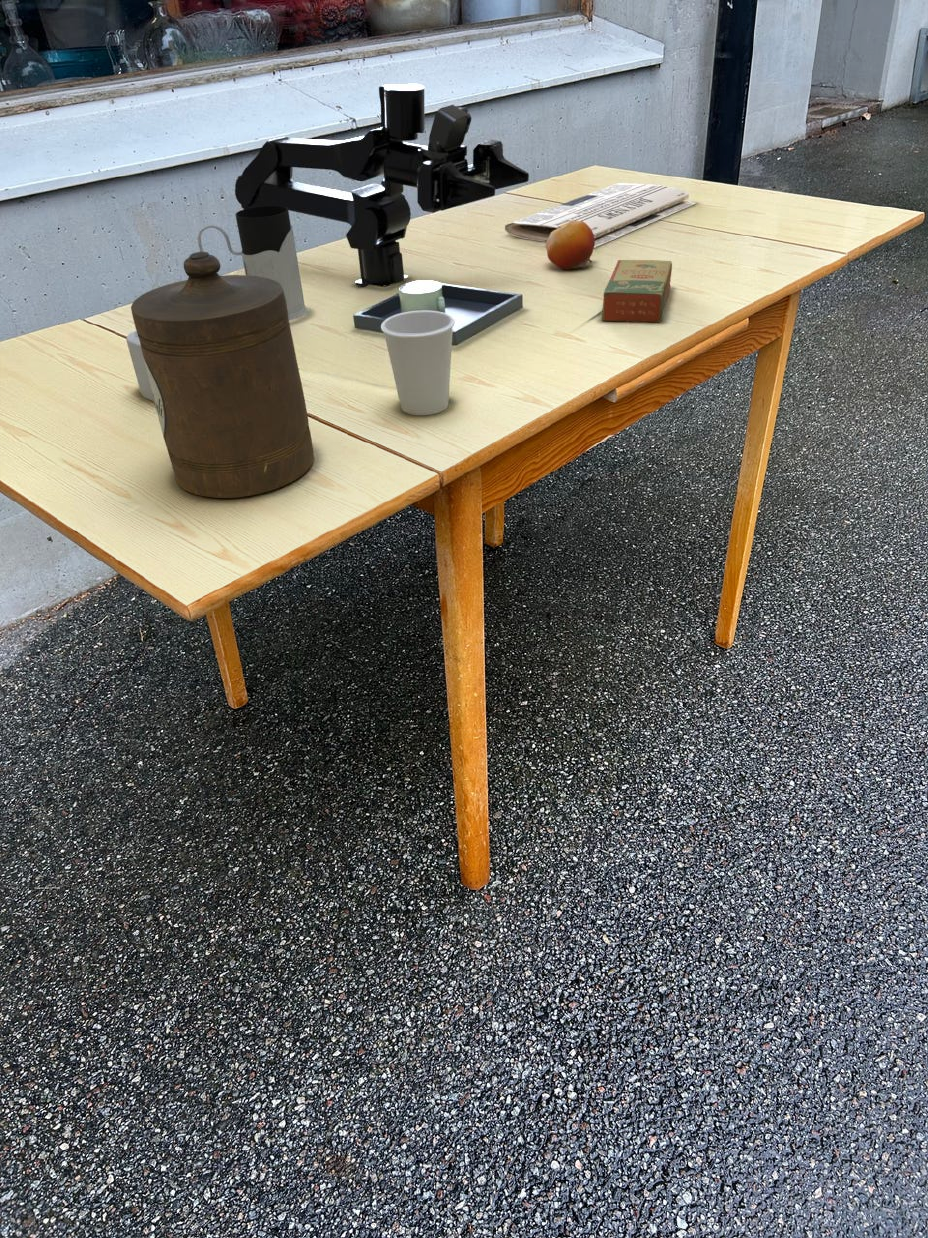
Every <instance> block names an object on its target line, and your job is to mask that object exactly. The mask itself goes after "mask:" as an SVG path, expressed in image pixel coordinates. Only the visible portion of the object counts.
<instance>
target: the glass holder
mask: <svg viewBox="0 0 928 1238" xmlns="http://www.w3.org/2000/svg"><path fill="white" fill-rule="evenodd" d="M234 216H235V221H236V226H237V231H238V235H239V242H240V247H241V251H234V250H233V249H232V245H231V240H230V238H229V236H228V233H227V232H226V230H224V228H222V227H220V226H219V225H217V224H207V225H205V226H203V227H202V228H201V229H200V230H199V233H198V235H197V242H198V248H199V249H198V250H199V252H204V249H203V246H202V233H203V232H204V231H205V230H207V229H210V228H213V229H216V230H218V231H219V232H220V233H221V234H222V235H223V237H224V239H225V241H226V244H227V248H228V251H229V252H230V253H231V254H232V255H234V256H241V258H242V263H243V268H244V275H249V276H259V277H264V278H269V279H272V280H275V281H277V282H278V283H280V284H281V286H282V288H283V291H284V295H285V299H286V303H287V310H288V318H289V322H290V321H292V320H296V319H299V318H301V317H303V316H304V315H306V314H307V313H309V310H308V308H307V307H306V304H305V298H304V291H303V285H302V278H301V273H300V272H301V271H300V267H299V260H298V254H297V248H296V247H297V246H296V242H295V236H294V229H293V225H292V224H291V219H290V217H291V216H290V211H289V210H288V208H287V207H284V206H276V205H270V206H258V207H252V208H247V209H241V210H239V211H237V212H235V215H234Z"/></svg>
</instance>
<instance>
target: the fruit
mask: <svg viewBox="0 0 928 1238" xmlns="http://www.w3.org/2000/svg"><path fill="white" fill-rule="evenodd" d="M545 243H546V244H545V249H546V254H547V259H548V260H549V261H550V262H551V263H552V264H553V265H554V266H555V267H557V268H559V269H562V270H566V271H567V270H573V269H577V268H586V269H587V264H588V262H590V263H593V261H592V260H591V256H593V253H594V249H595V248H594V245H595V238H594V234H593V232H592V230H591V229H590V227H589V226H588V225H587V224H586V223H584V222H583V221H570V222H567V223H566V224H563V225H562V226H560V227H558V229H556V230H554V231H552V232H551V234H550V236H549V238H548V240H547V242H545Z"/></svg>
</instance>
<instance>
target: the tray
mask: <svg viewBox="0 0 928 1238" xmlns="http://www.w3.org/2000/svg"><path fill="white" fill-rule="evenodd" d="M439 283H440V284H441V285H442V294H443V298H444V302H445V313H447V314H449V315H450V316H452V317H453V318H454V320H455V324H454V326H453V333H452V346H458V345H460V344H462V343H464V342H465V341H467V340H468V339H470V338H472V337H473V336H475V335H477V334H479V333H481V332H482V331H484V330H486V329H488V328H489V327H491V326H494V325H495V324H497V323H498V322H501V321H502V320H503V319H506V318H507V317H509V316H511V315H512V314H514V313H516V312H518V311H519V310H521V309H523V308H524V302H523V301H524V299H523V298H524V297H523V294H522V293H516V292H508V291H507V292H506V291H500V290H493V289H487V288H478V287H472V286H464V285H457V284H450V283H442V282H439ZM400 313H401V306H400V296H399V292H398V293H396V294H393V295H392V296H389V297H388V298H386V299H384V300H381V301H379V302H377V303H375V304H373V305H371V306H369V307H367V308H364V309H363V310H361V311H358V312H356V313H354V314H353V315H352V317H353V325H354V326H353V327H354V329H359V330H365V331H370V332H376V333H381V334H384V332H383V331H382V330H381V324H382V323H383V322H384V321H385V320H386V319H387V318H389V317H391V316H393V315H396V314H400Z"/></svg>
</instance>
